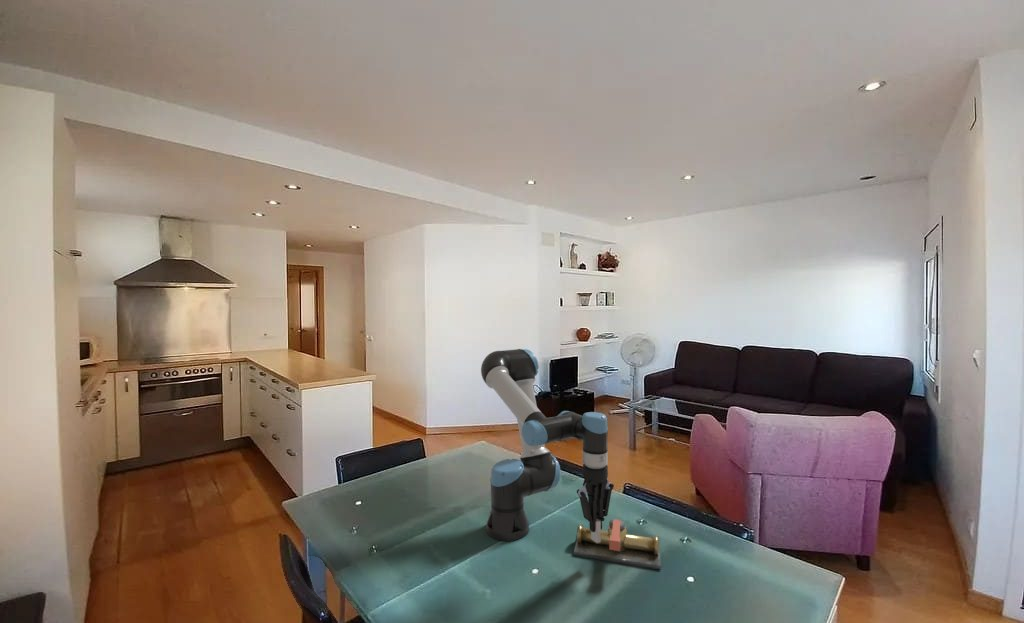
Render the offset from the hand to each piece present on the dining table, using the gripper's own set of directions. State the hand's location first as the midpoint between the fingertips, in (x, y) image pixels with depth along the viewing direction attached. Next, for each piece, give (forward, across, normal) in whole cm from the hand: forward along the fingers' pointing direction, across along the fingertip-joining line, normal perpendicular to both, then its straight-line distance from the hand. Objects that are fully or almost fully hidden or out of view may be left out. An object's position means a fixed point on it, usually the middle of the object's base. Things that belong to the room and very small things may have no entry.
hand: (595, 540), depth 126 cm
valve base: (+7, +10, +2) cm, 13 cm away
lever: (0, +7, -2) cm, 7 cm away
